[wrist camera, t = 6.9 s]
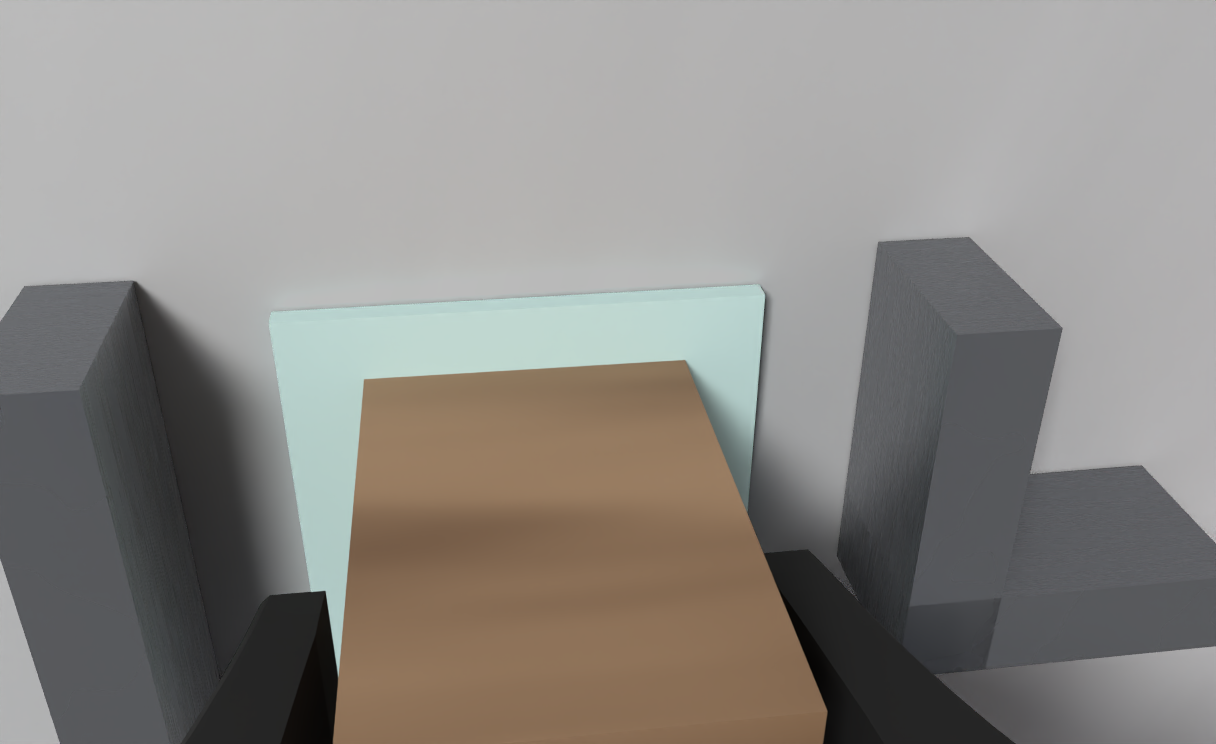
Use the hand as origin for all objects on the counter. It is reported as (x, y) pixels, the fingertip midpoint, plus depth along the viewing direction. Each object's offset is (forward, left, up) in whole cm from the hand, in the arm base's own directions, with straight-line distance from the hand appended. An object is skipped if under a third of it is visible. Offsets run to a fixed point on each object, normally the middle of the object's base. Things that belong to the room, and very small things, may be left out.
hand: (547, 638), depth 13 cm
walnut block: (0, 0, -2) cm, 3 cm away
